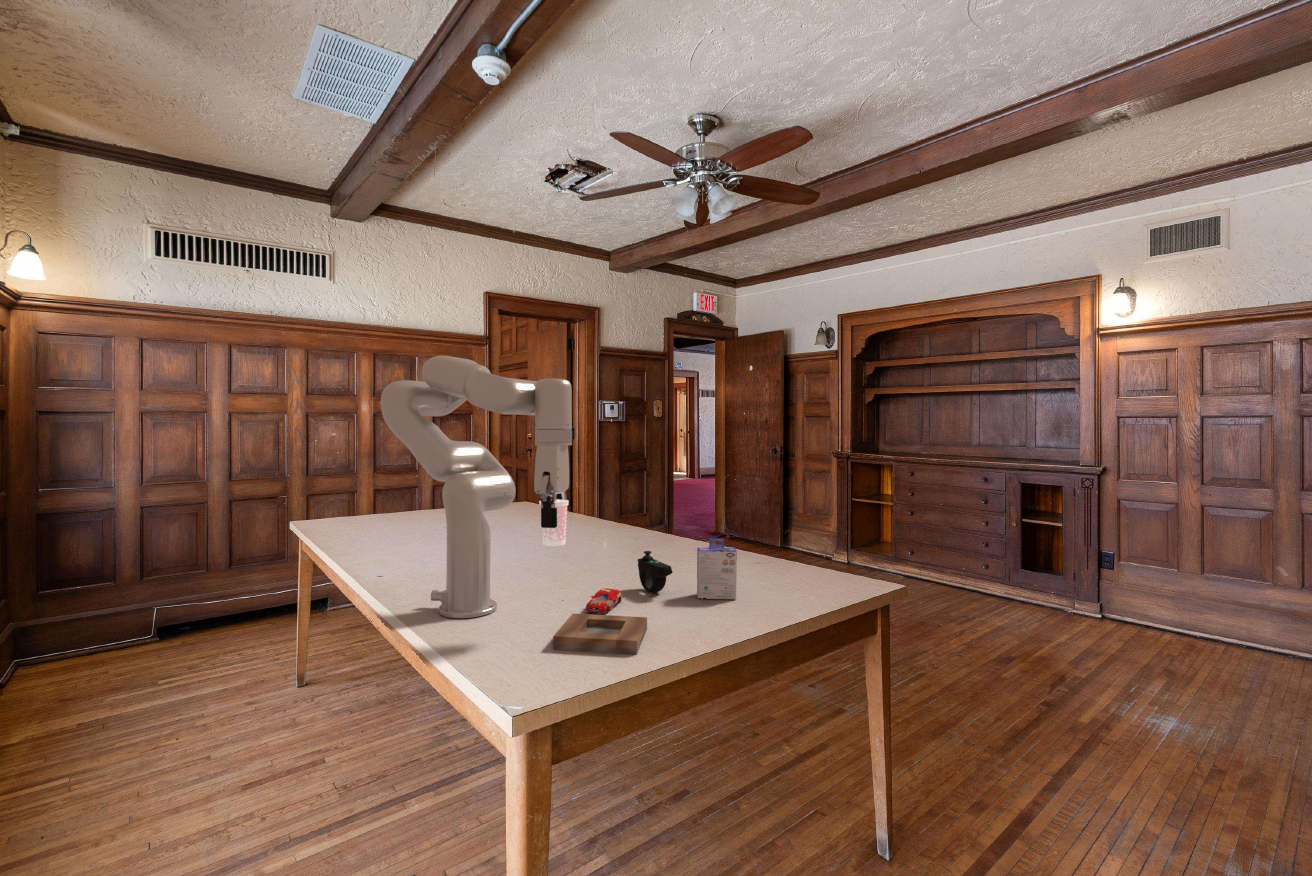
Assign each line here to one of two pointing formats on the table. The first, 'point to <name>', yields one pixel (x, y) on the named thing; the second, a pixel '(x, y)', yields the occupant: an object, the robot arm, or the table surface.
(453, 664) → the table surface
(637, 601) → the table surface
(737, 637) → the table surface
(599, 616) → the brown wooden square frame
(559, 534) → the beverage cup
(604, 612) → the race car
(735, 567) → the ink cartridge box
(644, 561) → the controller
